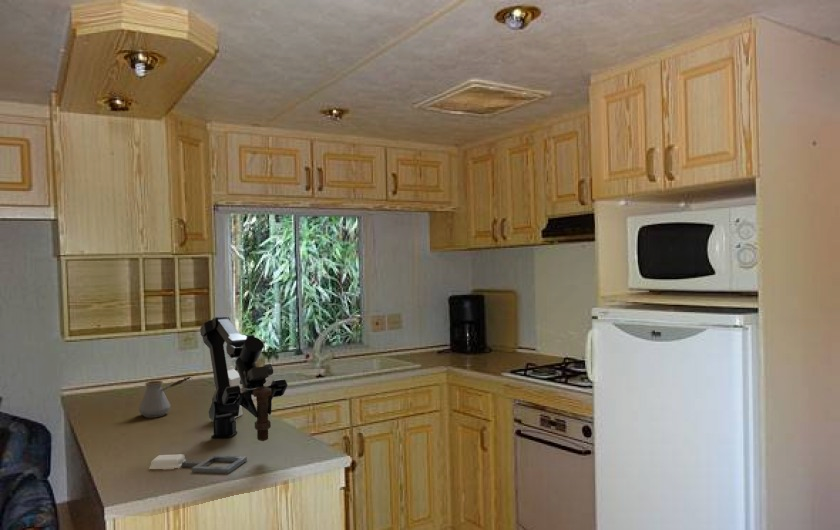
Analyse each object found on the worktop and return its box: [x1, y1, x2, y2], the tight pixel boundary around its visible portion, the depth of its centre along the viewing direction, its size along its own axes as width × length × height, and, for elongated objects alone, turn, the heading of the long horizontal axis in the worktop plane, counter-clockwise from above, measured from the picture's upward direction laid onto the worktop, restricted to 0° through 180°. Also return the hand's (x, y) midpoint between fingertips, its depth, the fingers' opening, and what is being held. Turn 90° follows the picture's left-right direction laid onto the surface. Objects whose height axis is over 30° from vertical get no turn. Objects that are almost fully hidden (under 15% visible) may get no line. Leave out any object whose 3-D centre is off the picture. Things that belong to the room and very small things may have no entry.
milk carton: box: [214, 365, 243, 419], centre depth 232 cm, size 7×7×19 cm
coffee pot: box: [138, 376, 193, 419], centre depth 238 cm, size 21×12×15 cm, turn 84°
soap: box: [148, 453, 187, 470], centre depth 176 cm, size 9×7×3 cm
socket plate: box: [181, 455, 248, 475], centre depth 174 cm, size 16×11×1 cm, turn 79°
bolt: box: [252, 388, 272, 442], centre depth 179 cm, size 6×5×15 cm
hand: (263, 415), depth 178 cm, fingers closed on bolt, 4 cm apart
